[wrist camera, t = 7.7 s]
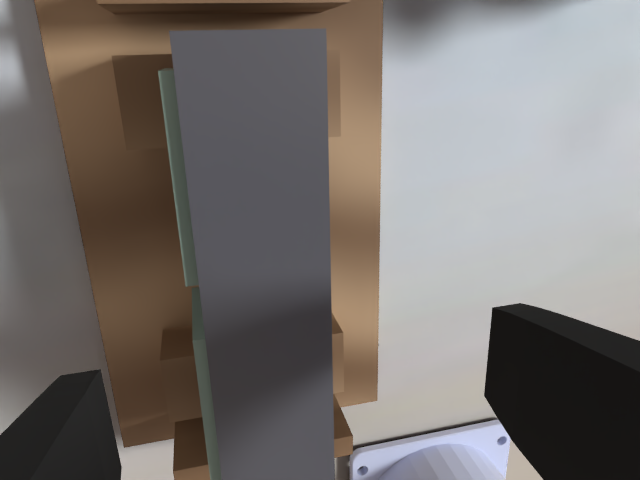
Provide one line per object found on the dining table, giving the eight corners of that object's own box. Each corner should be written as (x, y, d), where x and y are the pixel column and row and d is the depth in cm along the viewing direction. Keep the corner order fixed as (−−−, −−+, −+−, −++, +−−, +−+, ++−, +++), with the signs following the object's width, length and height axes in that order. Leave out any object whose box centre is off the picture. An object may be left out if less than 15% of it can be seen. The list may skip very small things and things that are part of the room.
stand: (369, 386, 22) (405, 451, 18) (127, 429, 20) (113, 513, 16) (372, -27, 16) (425, -51, 13) (37, -29, 14) (-15, -59, 11)
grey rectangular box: (304, 404, 18) (335, 494, 14) (209, 421, 17) (215, 520, 13) (289, 36, 14) (326, 28, 10) (162, 38, 13) (151, 31, 9)
